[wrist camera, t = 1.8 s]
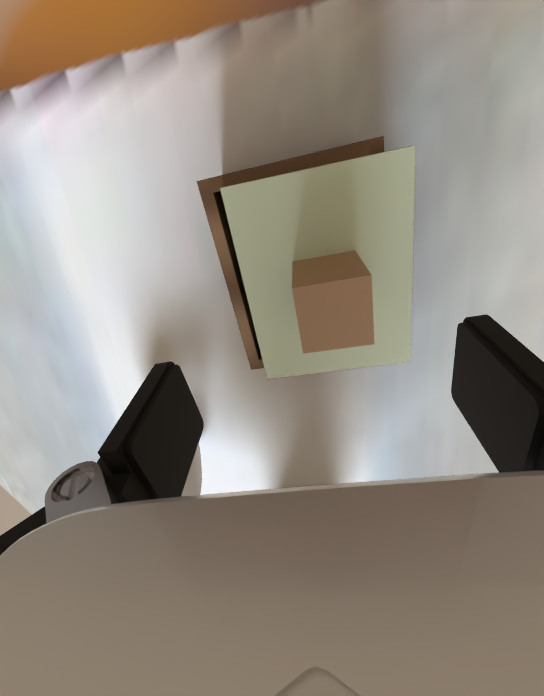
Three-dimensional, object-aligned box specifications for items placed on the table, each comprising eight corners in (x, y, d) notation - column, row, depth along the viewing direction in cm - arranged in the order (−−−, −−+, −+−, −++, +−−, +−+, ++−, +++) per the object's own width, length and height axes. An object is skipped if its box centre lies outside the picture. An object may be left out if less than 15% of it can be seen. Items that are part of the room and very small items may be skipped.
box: (369, 308, 31) (389, 349, 25) (260, 325, 33) (251, 369, 26) (358, 142, 25) (383, 136, 18) (222, 175, 26) (196, 181, 19)
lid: (407, 356, 25) (435, 405, 20) (267, 373, 26) (261, 423, 21) (410, 146, 18) (455, 141, 13) (222, 187, 20) (198, 197, 15)
